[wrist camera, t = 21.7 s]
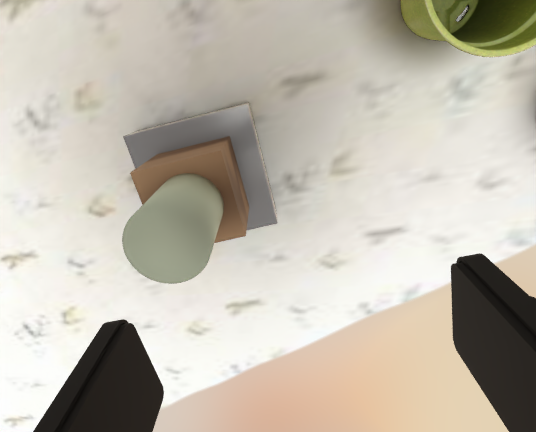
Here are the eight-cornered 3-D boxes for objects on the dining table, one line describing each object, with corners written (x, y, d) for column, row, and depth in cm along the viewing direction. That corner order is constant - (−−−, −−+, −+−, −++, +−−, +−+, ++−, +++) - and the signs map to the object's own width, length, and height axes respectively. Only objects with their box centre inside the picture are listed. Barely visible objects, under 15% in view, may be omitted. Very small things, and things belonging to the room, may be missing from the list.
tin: (146, 182, 23) (108, 215, 17) (212, 166, 22) (195, 194, 17) (169, 242, 24) (141, 291, 19) (231, 228, 24) (221, 273, 18)
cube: (156, 154, 28) (130, 172, 22) (229, 136, 28) (220, 150, 22) (181, 222, 30) (162, 254, 25) (249, 206, 30) (245, 235, 24)
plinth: (136, 131, 30) (123, 136, 28) (248, 102, 30) (247, 104, 27) (174, 234, 34) (166, 248, 31) (276, 211, 33) (277, 223, 30)
